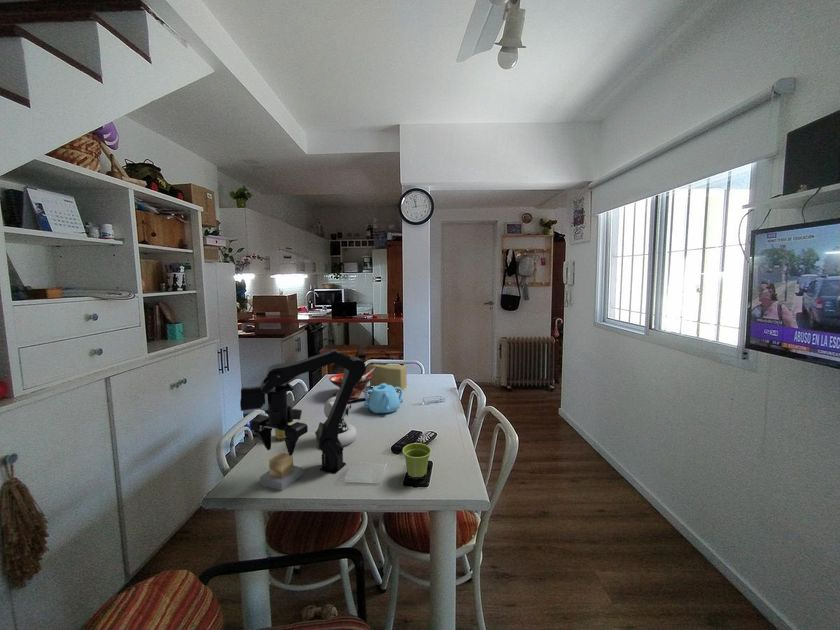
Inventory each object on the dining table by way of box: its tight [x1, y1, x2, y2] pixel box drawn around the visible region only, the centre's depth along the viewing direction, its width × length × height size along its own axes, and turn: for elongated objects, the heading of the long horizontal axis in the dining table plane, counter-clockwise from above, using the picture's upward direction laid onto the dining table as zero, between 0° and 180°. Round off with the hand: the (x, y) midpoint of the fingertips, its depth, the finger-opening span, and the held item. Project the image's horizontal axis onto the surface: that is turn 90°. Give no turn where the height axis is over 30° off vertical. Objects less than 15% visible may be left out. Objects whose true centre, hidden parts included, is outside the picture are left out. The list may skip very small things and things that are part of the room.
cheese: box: [369, 363, 408, 391], centre depth 195 cm, size 22×10×15 cm, turn 73°
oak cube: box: [268, 452, 294, 478], centre depth 105 cm, size 5×5×5 cm
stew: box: [328, 366, 377, 402], centre depth 183 cm, size 28×24×16 cm
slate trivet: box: [259, 464, 304, 492], centre depth 106 cm, size 9×9×2 cm
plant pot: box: [402, 442, 432, 477], centre depth 107 cm, size 9×9×9 cm
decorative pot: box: [363, 383, 404, 414], centre depth 163 cm, size 16×16×14 cm
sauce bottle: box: [274, 422, 292, 442], centre depth 133 cm, size 6×6×20 cm
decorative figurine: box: [323, 390, 358, 447], centre depth 131 cm, size 15×15×20 cm
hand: (279, 452), depth 105 cm, fingers open, 9 cm apart
